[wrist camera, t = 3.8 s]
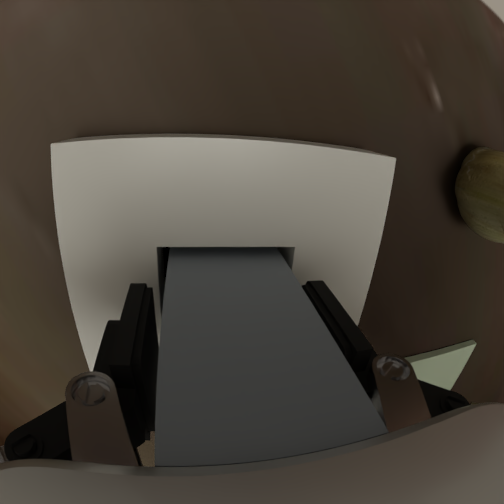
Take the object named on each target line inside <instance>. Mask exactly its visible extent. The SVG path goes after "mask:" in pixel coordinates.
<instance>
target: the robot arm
mask: <svg viewBox="0 0 504 504" xmlns="http://www.w3.org/2000/svg"><path fill="white" fill-rule="evenodd" d="M301 287H302V288H303V290H304V291H305V293H306V295H307V296H308V298H309V299H310V301H311V303H312V304H313V306H314V308H315V309H316V311H317V312H318V314H319V316H320V317H321V319H322V321H323V322H324V324H325V325H326V327H327V329H328V330H329V332H330V334H331V335H332V337H333V339H334V340H335V342H336V343H337V345H338V347H339V348H340V350H341V352H342V353H343V355H344V357H345V358H346V360H347V362H348V363H349V365H350V367H351V368H352V370H353V372H354V373H355V375H356V377H357V378H358V380H359V382H360V383H361V385H362V387H363V388H364V390H365V392H366V394H367V395H368V397H369V399H370V400H371V402H372V404H373V405H374V407H375V409H376V410H377V412H378V414H379V416H380V417H381V419H382V421H383V423H384V424H385V426H386V428H387V429H388V431H389V433H387V434H384V435H381V436H378V437H374V438H371V439H367V440H364V441H360V442H357V443H353V444H349V445H345V446H341V447H337V448H333V449H328V450H324V451H319V452H315V453H310V454H304V455H299V456H294V457H288V458H281V459H275V460H268V461H260V462H252V463H243V464H232V465H219V466H202V467H144V466H143V464H142V461H141V458H140V455H139V452H138V449H137V447H138V446H140V445H141V444H143V443H144V442H145V440H150V431H155V414H156V389H157V371H158V356H159V343H158V335H157V326H156V317H155V307H154V296H153V288H152V287H147V284H146V283H131V284H130V286H129V290H128V293H127V296H126V300H125V303H124V307H123V310H122V314H121V317H120V320H109V321H108V322H107V324H106V327H105V331H104V334H103V337H102V340H101V344H100V347H99V351H98V354H97V357H96V361H95V365H94V368H93V371H90V372H84V373H80V374H79V375H77V376H75V377H73V378H72V379H71V380H70V381H69V383H68V385H67V387H66V391H65V398H66V401H65V402H63V403H61V404H59V405H58V406H56V407H54V408H52V409H51V410H49V411H47V412H45V413H44V414H42V415H40V416H38V417H37V418H35V419H33V420H31V421H29V422H28V423H26V424H24V425H22V426H20V427H19V428H17V429H15V430H14V431H13V432H11V433H10V434H9V436H8V437H7V438H6V441H5V444H4V446H2V447H0V504H504V404H503V403H496V402H494V403H474V402H471V403H470V404H469V402H468V401H467V400H466V399H465V398H464V397H463V396H462V395H460V394H458V393H456V392H453V391H450V390H447V389H444V388H441V387H439V386H436V385H433V384H430V383H427V382H424V381H421V380H419V379H417V376H416V374H415V371H414V369H413V367H412V365H411V363H409V362H408V361H407V360H406V359H405V358H403V357H401V356H399V355H396V354H391V353H385V354H380V355H377V354H376V353H375V351H374V350H373V347H372V346H371V344H370V343H369V342H368V340H367V339H366V338H365V336H364V335H363V333H362V332H361V331H360V329H359V328H358V327H357V325H356V324H355V322H354V321H353V320H352V318H351V317H350V316H349V314H348V313H347V312H346V310H345V309H344V308H343V306H342V305H341V304H340V302H339V301H338V300H337V298H336V297H335V296H334V294H333V293H332V292H331V290H330V289H329V288H328V286H327V285H326V284H325V282H324V281H323V280H317V281H307V282H306V285H302V286H301Z"/></svg>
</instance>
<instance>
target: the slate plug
mask: <svg viewBox="0 0 504 504" xmlns="http://www.w3.org/2000/svg"><path fill="white" fill-rule="evenodd" d="M387 433H389V431H388V429H387V428H386V426H385V424H384V423H383V421H382V419H381V417H380V416H379V414H378V412H377V410H376V409H375V407H374V405H373V404H372V402H371V400H370V399H369V397H368V395H367V394H366V392H365V390H364V388H363V387H362V385H361V383H360V382H359V380H358V378H357V377H356V375H355V373H354V372H353V370H352V368H351V367H350V365H349V363H348V362H347V360H346V358H345V357H344V355H343V353H342V352H341V350H340V348H339V347H338V345H337V343H336V342H335V340H334V339H333V337H332V335H331V334H330V332H329V330H328V329H327V327H326V325H325V324H324V322H323V321H322V319H321V317H320V316H319V314H318V312H317V311H316V309H315V308H314V306H313V304H312V303H311V301H310V299H309V298H308V296H307V295H306V293H305V291H304V290H303V288H302V287H301V285H300V283H299V282H298V280H297V279H296V277H295V275H294V274H293V272H292V271H291V269H290V267H289V266H288V264H287V263H286V261H285V260H284V258H283V256H282V255H281V253H280V252H279V250H278V248H277V247H170V251H169V258H168V266H167V274H166V282H165V291H164V300H163V310H162V320H161V331H160V343H159V356H158V371H157V389H156V414H155V467H202V466H219V465H232V464H243V463H252V462H260V461H268V460H275V459H281V458H288V457H294V456H299V455H304V454H310V453H315V452H319V451H324V450H328V449H333V448H337V447H341V446H345V445H349V444H353V443H357V442H360V441H364V440H367V439H371V438H374V437H378V436H381V435H384V434H387Z"/></svg>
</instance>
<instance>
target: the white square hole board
mask: <svg viewBox="0 0 504 504" xmlns="http://www.w3.org/2000/svg"><path fill="white" fill-rule="evenodd" d="M395 163H396V158H394V157H390V156H387V155H383V154H380V153H376V152H372V151H368V150H365V149H359V148H353V147H346V146H339V145H332V144H324V143H317V142H308V141H299V140H290V139H279V138H267V137H254V136H238V135H217V134H128V135H108V136H93V137H80V138H73V139H69V140H65V141H60V142H56V143H52V144H51V166H52V184H53V196H54V207H55V216H56V224H57V232H58V239H59V246H60V252H61V258H62V264H63V269H64V274H65V279H66V284H67V289H68V294H69V298H70V302H71V307H72V311H73V315H74V319H75V322H76V326H77V330H78V334H79V337H80V341H81V344H82V347H83V351H84V354H85V357H86V360H87V363H88V366H89V369H90V371H93V368H94V365H95V361H96V357H97V354H98V351H99V347H100V344H101V340H102V337H103V334H104V331H105V327H106V324H107V322H108V321H109V320H120V317H121V314H122V310H123V307H124V303H125V300H126V296H127V293H128V290H129V286H130V284H131V283H146V284H147V287H152V288H153V296H154V307H155V317H156V326H157V335H158V343H160V331H161V320H162V310H163V300H164V291H165V279H164V258H163V247H277V248H278V250H279V252H280V253H281V255H282V256H283V258H284V260H285V261H286V263H287V264H288V266H289V267H290V269H291V271H292V272H293V274H294V275H295V277H296V279H297V280H298V282H299V283H300V285H301V286H302V285H306V282H307V281H317V280H323V281H324V282H325V284H326V285H327V286H328V288H329V289H330V290H331V292H332V293H333V294H334V296H335V297H336V298H337V300H338V301H339V302H340V304H341V305H342V306H343V308H344V309H345V310H346V312H347V313H348V314H349V316H350V317H351V318H352V320H353V321H354V322H355V324H356V325H357V327H358V324H359V320H360V317H361V314H362V310H363V307H364V303H365V300H366V296H367V293H368V289H369V286H370V282H371V278H372V274H373V270H374V267H375V263H376V258H377V254H378V250H379V246H380V242H381V237H382V233H383V228H384V223H385V219H386V214H387V209H388V203H389V198H390V193H391V187H392V181H393V175H394V169H395Z"/></svg>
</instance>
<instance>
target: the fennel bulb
mask: <svg viewBox="0 0 504 504" xmlns="http://www.w3.org/2000/svg"><path fill="white" fill-rule="evenodd" d="M455 195H456V198H457V202H458V208H459V211H460V214H461V216H462V218H463V219H464V221H465V223H466V224H467V226H468V227H469V228H470V229H472V230H473V231H474V232H475V233H476V234H478V235H479V236H481V237H483V238H485V239H487V240H490V241H493V242H499V243H504V152H502V151H497V150H492V149H491V148H489V147H478V148H476V149H474V150H472V151H471V152H470V153H469V154H468V155H467V156H466V158H465V159H464V160H463V162H462V166H461V169H460V171H459V172H458V175H457V178H456V182H455Z"/></svg>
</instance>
